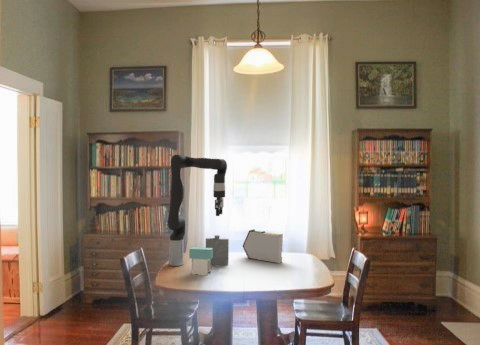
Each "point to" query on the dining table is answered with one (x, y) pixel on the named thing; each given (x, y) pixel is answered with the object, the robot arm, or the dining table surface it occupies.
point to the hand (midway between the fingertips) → (219, 215)
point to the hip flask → (218, 250)
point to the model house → (263, 246)
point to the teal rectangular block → (200, 253)
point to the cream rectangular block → (200, 266)
